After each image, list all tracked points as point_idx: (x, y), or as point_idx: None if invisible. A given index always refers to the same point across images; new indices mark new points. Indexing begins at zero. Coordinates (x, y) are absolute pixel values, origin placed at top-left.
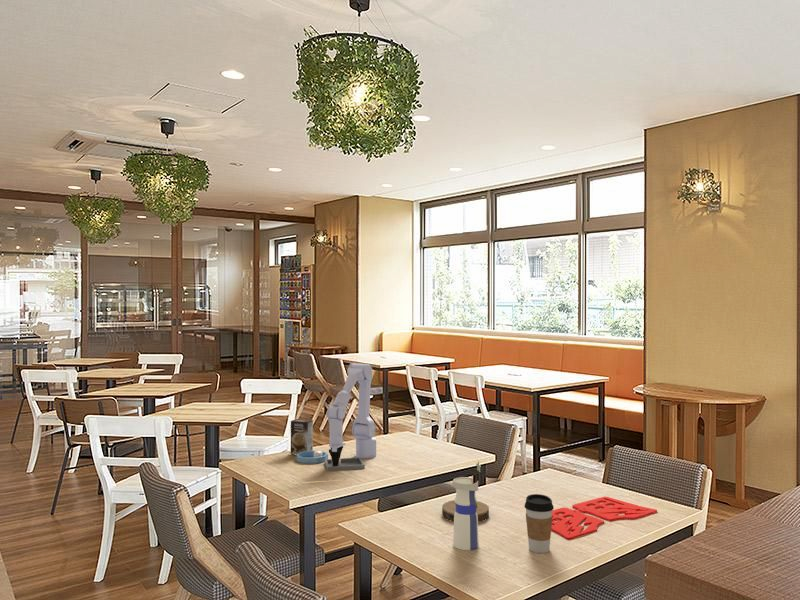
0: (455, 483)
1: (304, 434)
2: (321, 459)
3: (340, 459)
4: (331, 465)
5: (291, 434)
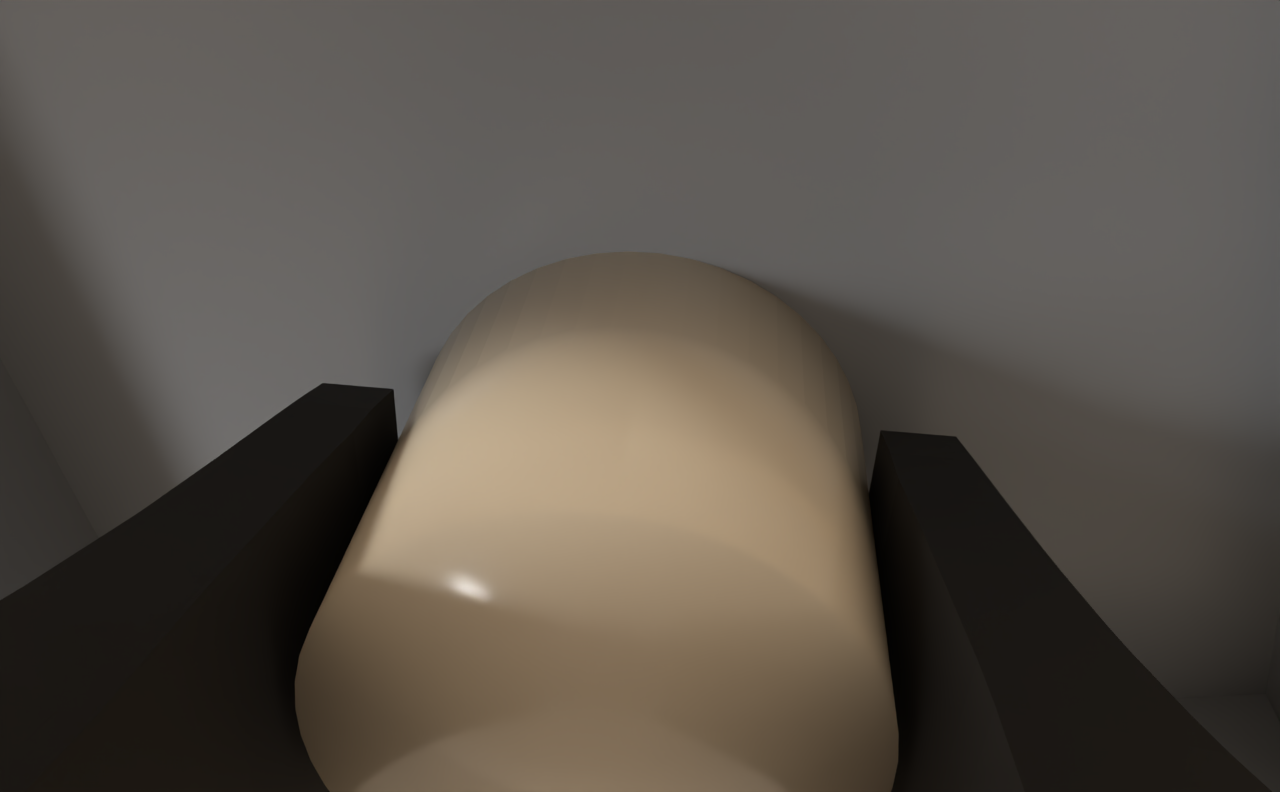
0: None
1: None
2: None
3: (677, 492)
4: None
5: None
